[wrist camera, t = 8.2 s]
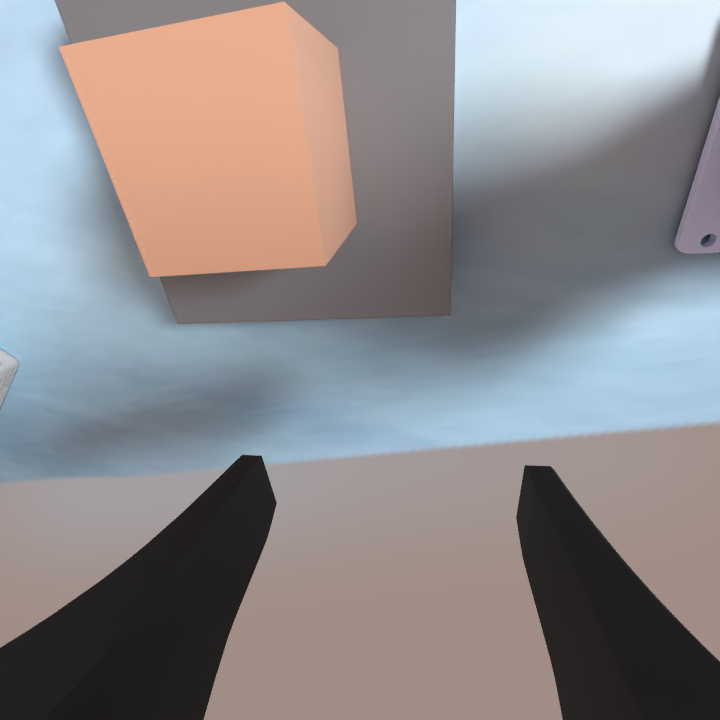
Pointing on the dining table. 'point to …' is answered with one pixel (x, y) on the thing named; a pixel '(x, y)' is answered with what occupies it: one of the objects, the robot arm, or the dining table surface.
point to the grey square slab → (367, 159)
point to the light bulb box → (6, 373)
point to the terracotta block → (222, 139)
